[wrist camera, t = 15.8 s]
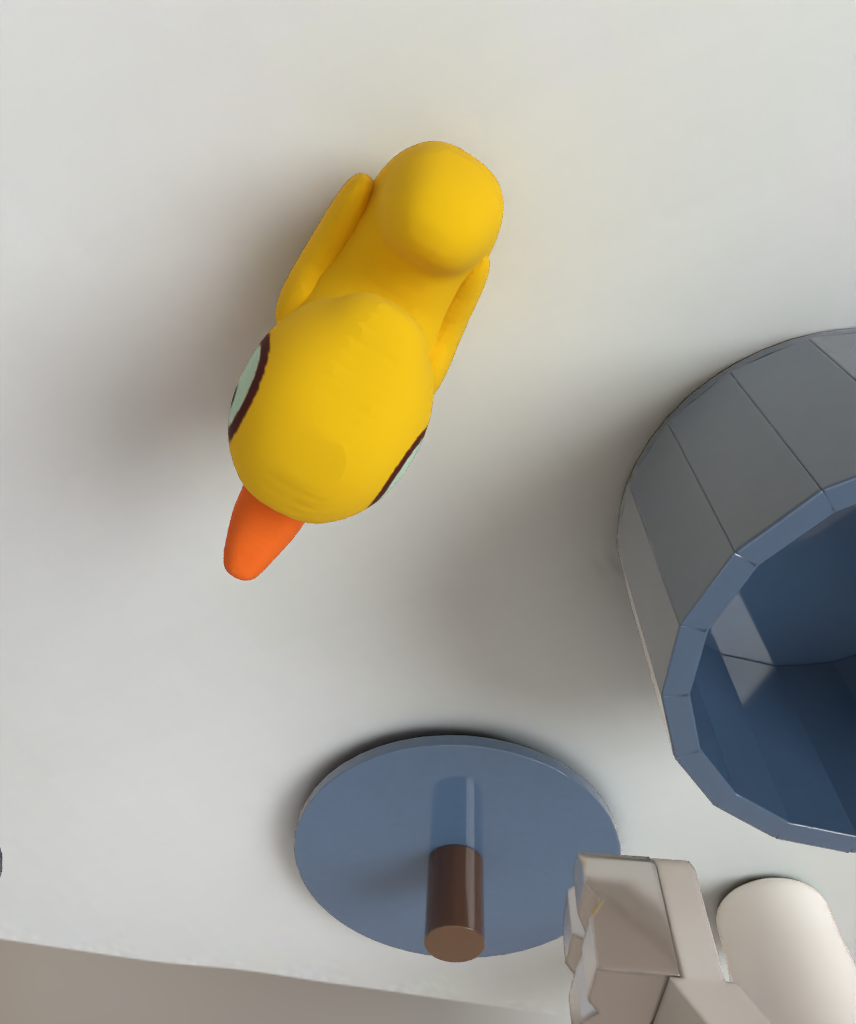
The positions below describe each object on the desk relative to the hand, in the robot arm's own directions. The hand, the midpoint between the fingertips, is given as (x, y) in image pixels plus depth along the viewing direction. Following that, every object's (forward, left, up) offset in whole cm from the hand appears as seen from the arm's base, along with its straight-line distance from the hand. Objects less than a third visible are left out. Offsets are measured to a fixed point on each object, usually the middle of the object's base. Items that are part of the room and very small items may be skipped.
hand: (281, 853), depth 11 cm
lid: (+4, -23, -18) cm, 30 cm away
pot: (+15, -4, -19) cm, 25 cm away
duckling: (-1, +3, -19) cm, 19 cm away
